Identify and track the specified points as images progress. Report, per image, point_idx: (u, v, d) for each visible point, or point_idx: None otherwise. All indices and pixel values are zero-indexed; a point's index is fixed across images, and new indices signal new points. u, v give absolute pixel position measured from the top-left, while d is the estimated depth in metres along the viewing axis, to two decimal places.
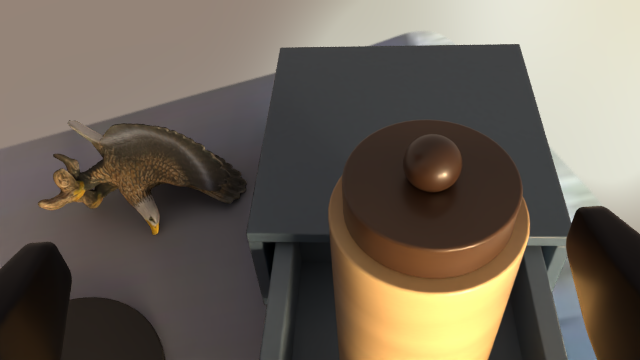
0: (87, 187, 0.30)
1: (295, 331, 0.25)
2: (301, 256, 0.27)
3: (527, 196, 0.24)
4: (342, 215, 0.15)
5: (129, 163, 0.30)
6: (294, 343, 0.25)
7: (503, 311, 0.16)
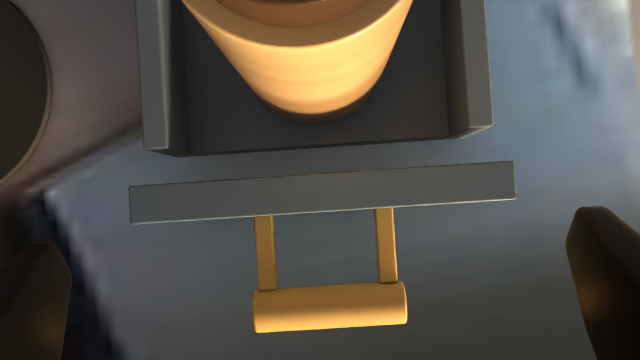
0: None
1: (182, 3, 0.21)
2: None
3: None
4: None
5: None
6: (183, 18, 0.21)
7: None
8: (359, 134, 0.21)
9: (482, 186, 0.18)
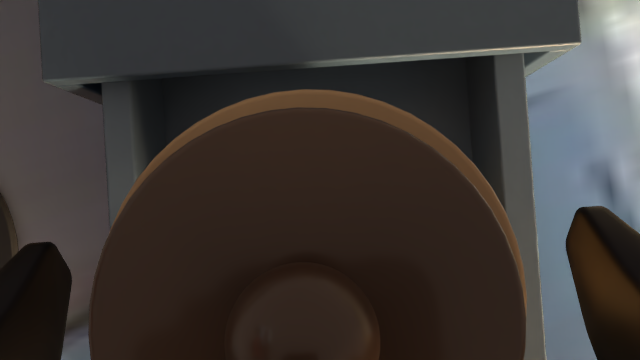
0: None
1: None
2: None
3: None
4: None
5: None
6: None
7: None
8: None
9: None
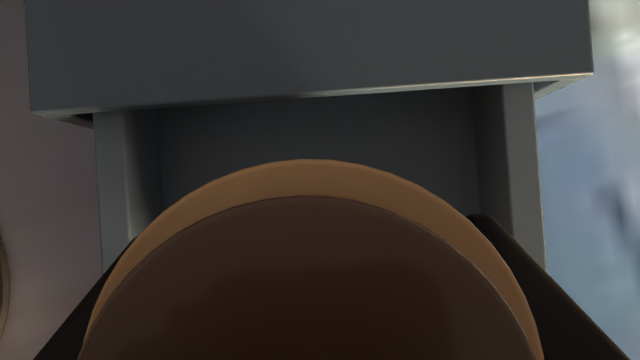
0: None
1: (164, 203, 0.17)
2: None
3: None
4: None
5: None
6: None
7: None
8: None
9: None
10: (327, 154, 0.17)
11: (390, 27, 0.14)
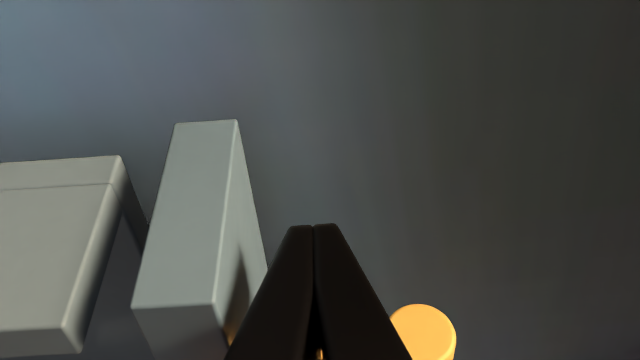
0: None
1: None
2: None
3: None
4: None
5: None
6: None
7: None
8: None
9: (197, 344, 0.09)
10: None
11: None
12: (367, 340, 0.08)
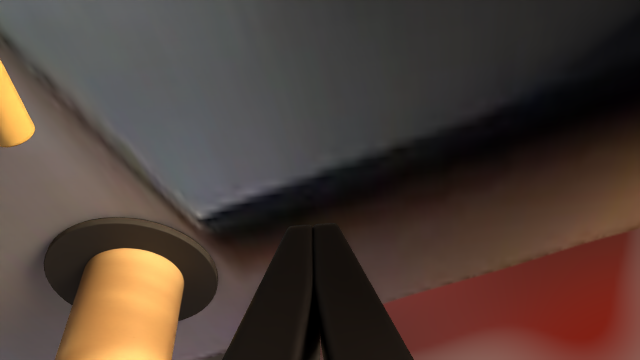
0: None
1: None
2: None
3: None
4: None
5: None
6: None
7: None
8: None
9: None
10: None
11: None
12: (368, 340, 0.08)
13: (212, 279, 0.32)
